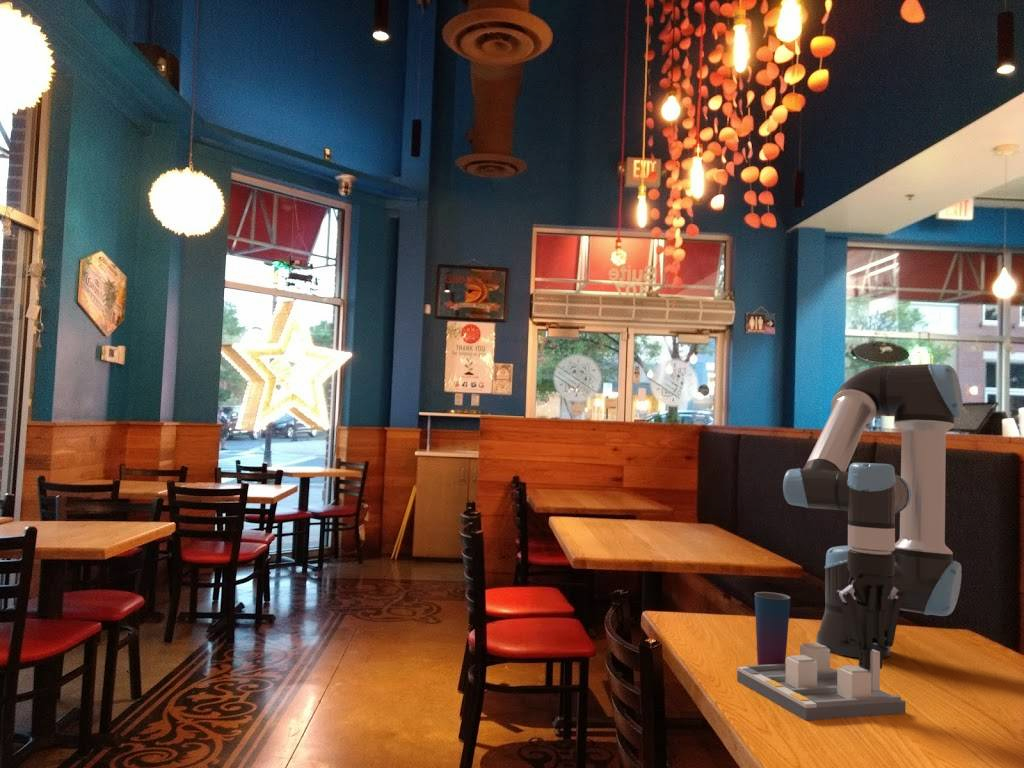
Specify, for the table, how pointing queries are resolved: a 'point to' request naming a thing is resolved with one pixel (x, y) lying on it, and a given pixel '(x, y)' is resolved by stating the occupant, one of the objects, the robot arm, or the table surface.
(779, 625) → the cup
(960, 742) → the table surface
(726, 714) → the table surface
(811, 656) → the tab
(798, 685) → the tab middle
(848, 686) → the tab
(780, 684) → the switch bank
